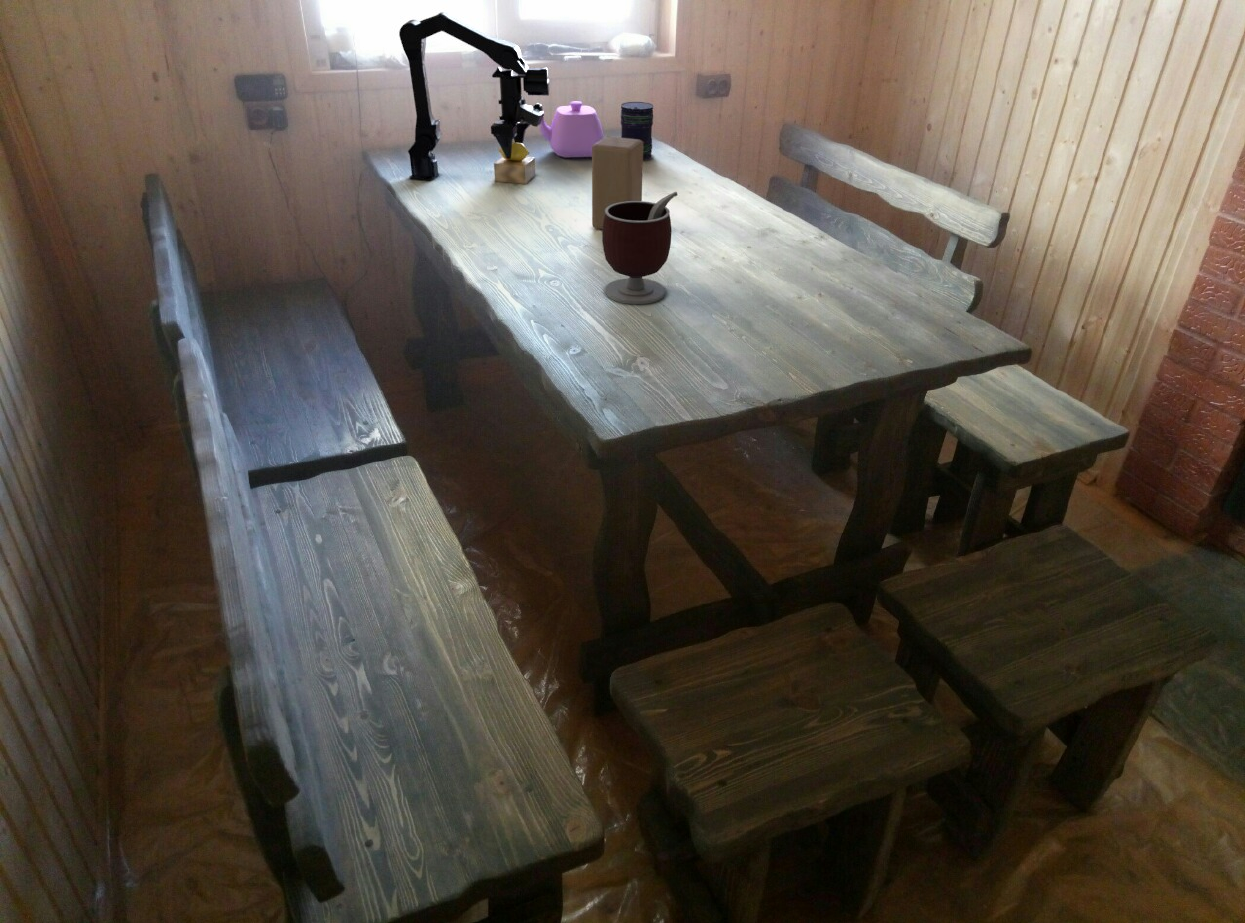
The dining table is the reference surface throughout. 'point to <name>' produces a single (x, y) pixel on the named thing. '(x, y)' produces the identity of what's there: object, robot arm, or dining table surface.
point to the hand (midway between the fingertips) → (514, 154)
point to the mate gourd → (637, 248)
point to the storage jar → (638, 124)
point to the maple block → (514, 170)
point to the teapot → (573, 130)
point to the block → (615, 174)
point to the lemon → (516, 152)
